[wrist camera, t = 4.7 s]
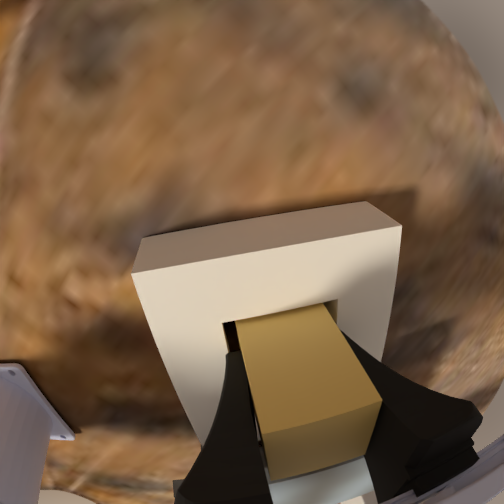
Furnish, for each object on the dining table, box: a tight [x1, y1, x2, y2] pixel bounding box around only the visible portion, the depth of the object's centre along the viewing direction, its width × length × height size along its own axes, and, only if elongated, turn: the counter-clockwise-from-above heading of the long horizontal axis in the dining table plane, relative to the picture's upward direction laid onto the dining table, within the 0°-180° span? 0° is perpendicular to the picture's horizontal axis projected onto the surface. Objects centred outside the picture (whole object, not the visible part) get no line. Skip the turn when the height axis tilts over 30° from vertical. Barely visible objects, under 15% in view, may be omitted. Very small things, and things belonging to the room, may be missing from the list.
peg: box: [235, 302, 382, 481], centre depth 12 cm, size 4×4×7 cm
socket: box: [131, 201, 402, 447], centre depth 15 cm, size 10×12×3 cm
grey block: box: [173, 445, 374, 504], centre depth 17 cm, size 13×9×7 cm
